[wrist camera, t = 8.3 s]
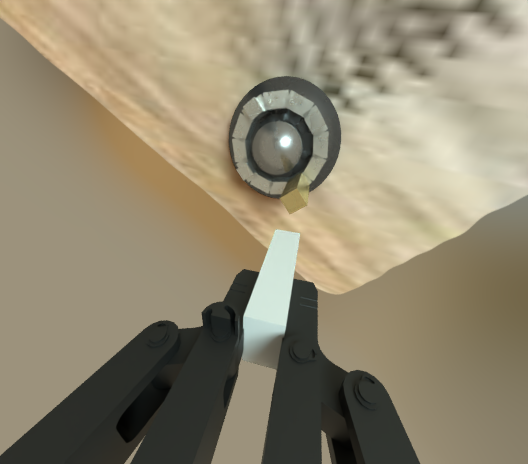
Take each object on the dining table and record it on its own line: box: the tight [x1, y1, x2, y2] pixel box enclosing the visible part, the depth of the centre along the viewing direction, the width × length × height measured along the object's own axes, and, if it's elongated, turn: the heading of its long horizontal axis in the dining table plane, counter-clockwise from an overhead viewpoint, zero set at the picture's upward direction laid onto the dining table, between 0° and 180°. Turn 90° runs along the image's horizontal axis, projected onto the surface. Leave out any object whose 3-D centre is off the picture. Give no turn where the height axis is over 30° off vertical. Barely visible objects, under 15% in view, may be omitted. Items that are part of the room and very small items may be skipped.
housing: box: [229, 76, 341, 199], centre depth 32 cm, size 18×18×7 cm
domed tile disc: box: [232, 89, 329, 214], centre depth 28 cm, size 14×14×12 cm
